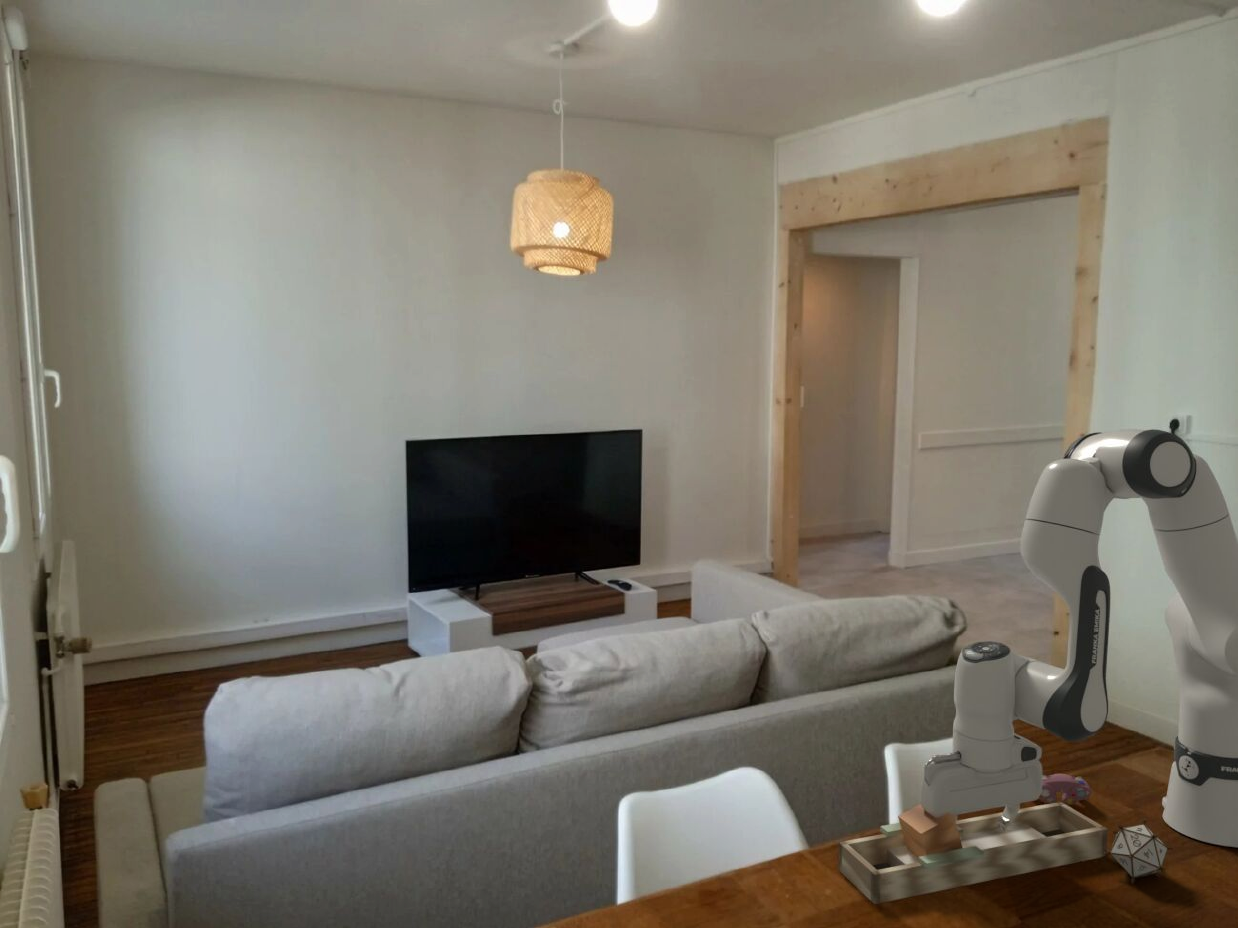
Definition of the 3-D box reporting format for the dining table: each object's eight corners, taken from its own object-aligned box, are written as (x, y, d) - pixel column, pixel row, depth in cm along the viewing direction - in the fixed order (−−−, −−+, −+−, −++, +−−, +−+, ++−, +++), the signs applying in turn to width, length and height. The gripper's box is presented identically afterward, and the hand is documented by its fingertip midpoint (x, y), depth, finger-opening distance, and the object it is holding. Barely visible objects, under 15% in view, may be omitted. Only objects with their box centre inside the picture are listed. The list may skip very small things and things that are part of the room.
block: (939, 831, 152) (929, 798, 151) (963, 850, 146) (954, 816, 145) (907, 848, 151) (897, 815, 149) (930, 868, 145) (920, 833, 144)
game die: (1150, 903, 146) (1188, 873, 139) (1094, 879, 147) (1129, 848, 141) (1147, 852, 153) (1183, 821, 146) (1093, 829, 154) (1126, 797, 147)
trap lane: (1055, 824, 163) (1056, 794, 163) (1111, 859, 152) (1112, 826, 151) (834, 866, 150) (835, 833, 150) (878, 907, 139) (878, 872, 138)
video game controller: (1030, 811, 171) (1036, 785, 167) (1023, 790, 175) (1030, 764, 171) (1088, 814, 170) (1097, 788, 166) (1081, 793, 174) (1089, 766, 170)
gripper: (938, 765, 143) (935, 854, 145) (1050, 747, 150) (1047, 832, 151) (912, 749, 149) (910, 834, 151) (1022, 732, 156) (1019, 814, 157)
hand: (980, 833), depth 151 cm, fingers open, 8 cm apart
